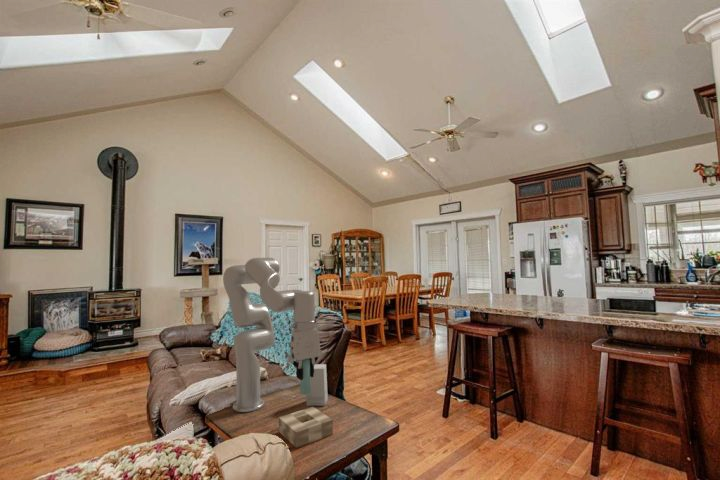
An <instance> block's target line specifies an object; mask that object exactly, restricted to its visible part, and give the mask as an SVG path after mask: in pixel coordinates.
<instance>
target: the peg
mask: <svg viewBox="0 0 720 480" xmlns="http://www.w3.org/2000/svg"><path fill="white" fill-rule="evenodd" d="M301 368H303V380H300V379H299V380H300V381H299V383H300V384H299V387H300V394H301V395H306V394H309V393H310V392H311V384H310V359H305V360H302V366H301Z"/></svg>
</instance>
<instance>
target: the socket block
mask: <svg viewBox="0 0 720 480" xmlns="http://www.w3.org/2000/svg"><path fill="white" fill-rule="evenodd" d="M333 425H334V422H333V418H331V417H329V416H328V415H326V414H325V413H323V412H322V411H320V410H319V409H318V408H316V407H315V406H310V407H307V408H304V409H301V410H297V411H295V412H292V413H287V414H285V415H282V416H278V433H280V434H281V435H282V436H283V437H284V438H285V439H286V440H287V441H288V442H289V443H290V444H291V445H292V446H294V447H295V448H296V449H297V448H300V447H304V446H306V445H309V444H311V443H314V442H316V441H319V440H321V439H324V438H326V437H329V436H332V435H333V434H334V428H333V427H334V426H333Z"/></svg>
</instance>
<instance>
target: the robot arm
mask: <svg viewBox="0 0 720 480" xmlns="http://www.w3.org/2000/svg"><path fill="white" fill-rule="evenodd" d="M280 266H281V265H280V264H279V262H278V261H277V259H275V258H273V257H253V258H251V259H249V260H247V262H246V263H245V264H236V265H231V266H229V267H227V268H225V270H224V272H223V276H222V281H223V286H224V287H223V288H224V291H225V292H226V294H227V296H228V299H229V305H230V310H231V314H232V321H233V323H234V326H235V327H236V328H238V329H245V328H250V327H256V328H253V329H247V330H242V331H240V332H238V333H237V334H236V335H235V337H234V338H233V348H234V353H235V363H236V364H235V365H236V401H235V402H234V403H233V404H232V410H233V411H235V412H237V413H238V412H239V413H249V412H253V411H257V410H259V409H261V408H262V407H264V404H265V400H264V399H262V398H261V363H260V359H259V358H258V357H257V355H256V353H257V352H259V351H263V350H268V349H270V348H272V347H273V346H274V343H275V338H276V337H275V332H274V331H275V330H274V326H273V323H272V317H271V313H270V310H271V311H273V312H275V313H282V312H283V313H284V312H287V311H293V322H292V324H290V329H293V330H292V331H291V332H292V333H291V337H290V349H289V350H290V353H289V355H288V357H287V359H286V362H287V363H289V364H291V365H293V366H294V368H296V369H295V373H296V375H295V376H296V378H297V379H298V380H303V368H301V366H302V360H305V359H310V377H313V376H314V375H313V374H314V365H315V364H316V363H317V361H318V360H319V359H320V357H322V356H323V353H322V351H321V343H320V335H319V331H318V328H316V318H315V317H316V313H315V312H316V310H315V309H316V307H315V306H316V304H315V302H316V301H315V300H316V299H315V293H314V292H313V291H311V290H301V289H287V290H280V291H277V290H276V288H277V287H278V285H279V283H280V281H281V276H280V274H279V272H280V269H281V268H280ZM249 284H250V285H252V284H257V285H258V286H259V287H260V288H259V295H260V300H261V301H262V303H255V304H253V303H252V302H251V297H250V294H249V292H248V291H247V289H245V287H243V286H242V285H249Z"/></svg>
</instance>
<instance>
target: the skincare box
mask: <svg viewBox="0 0 720 480" xmlns="http://www.w3.org/2000/svg"><path fill="white" fill-rule="evenodd" d="M313 375H314V376H313V377H310V384H311V392H310V393H309V394H305V395H306V396H305V399H306V400H305V401H306V406H307V407H308V406H310V407H315V406H321V407H322V406H324V407H325V406H326V404H327V401H328V400H329V399H328V397H329V396H328V378H327V377H328V373H327V364H326V363H325V364H324V363H320V364H319V363H317V364H316V363H315V365H314V374H313Z"/></svg>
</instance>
